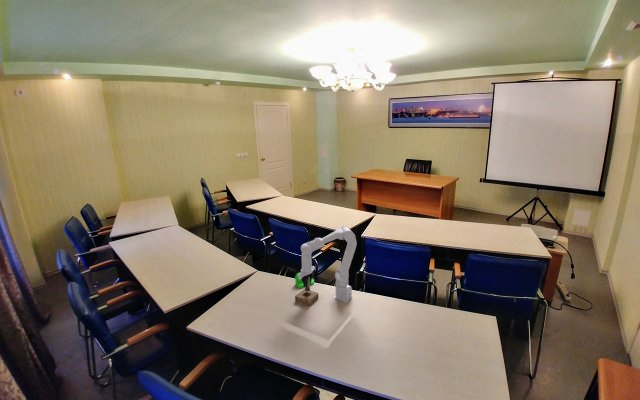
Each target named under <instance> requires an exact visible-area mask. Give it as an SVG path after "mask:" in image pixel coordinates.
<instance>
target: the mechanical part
mask: <svg viewBox="0 0 640 400" xmlns="http://www.w3.org/2000/svg"><path fill="white" fill-rule="evenodd" d="M300 273H301V272H298V273H296V274H295V278H294V279H295V281H294V282H295V283H294V284H295V286H297V288H298V289H302V288H303V289H304V288H305V287H304V285H303V282H302V280H301V279H298V275H299V274H300ZM314 284H315V279H314V278H312V281H311V284H310V286H312V285H314Z"/></svg>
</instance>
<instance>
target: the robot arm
mask: <svg viewBox="0 0 640 400" xmlns="http://www.w3.org/2000/svg"><path fill="white" fill-rule="evenodd" d="M336 239H337V240H345V241H346V243H347V244H346V248H345V250H344V254H343V257H342V261H341V264H340V267H338V268H337V271H336V272H335V274H334V278H335V295H334V296H333V297H332V298H333V299H334V300H335V299H336V300H339V301H341V302H344V303H348V302H349V300H350V299H352V297H353V287H352V286H351V285H349V276H350V275H349V270H350V267H351V264H352V260H353V259H354V254H355V252H356V248H357V244H358V242H357V238H356V235H355V233H354V232H353V231H352V230H351V229H350V227H348V226H347V225H345V226H344V225H343V226H342V227H339V228H337V229H335V231H333V232H331V233H329V234H328V235H326V236H324V237H322V238H321V237H315V238H314V239H313V240H311V241H307V242H305V243H303V244H302V245H301V246H300V251H301V269H300V272H299V273H300V274H299V275H298V279H301V280H302V282H303V285H304V287H303V288H305V287H307V286H308V279H309V277H307V276H306V275H310V284H311V281H312V279H313V277H314V275H315V272H314V271H315V270H316V266H314V265H312V264H313V263H312V262H313V261H312V253H313V252H315V251H317V250H319V249H321V248H323V247H324V245H325V244H327V243H329V242H332V241H334V240H336Z"/></svg>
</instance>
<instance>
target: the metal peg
mask: <svg viewBox="0 0 640 400" xmlns="http://www.w3.org/2000/svg"><path fill="white" fill-rule="evenodd" d="M306 276H307V277H309V279H308V286H307V287H304V289H305V291H310V290H311V285H310V275H306Z"/></svg>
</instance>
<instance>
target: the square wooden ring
mask: <svg viewBox="0 0 640 400" xmlns="http://www.w3.org/2000/svg"><path fill="white" fill-rule="evenodd" d="M318 299H319V292H318V291H317V292H316V291H314V290H311V289H310V291H305V288H303V290H300V292H298V293H297V294H296V295H295V296H294V301H295V302H296V303H299V304H301V305H303V306H307V307H310V306H311V305H313V304H314V303H315V302H316V301H317V300H318Z"/></svg>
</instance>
